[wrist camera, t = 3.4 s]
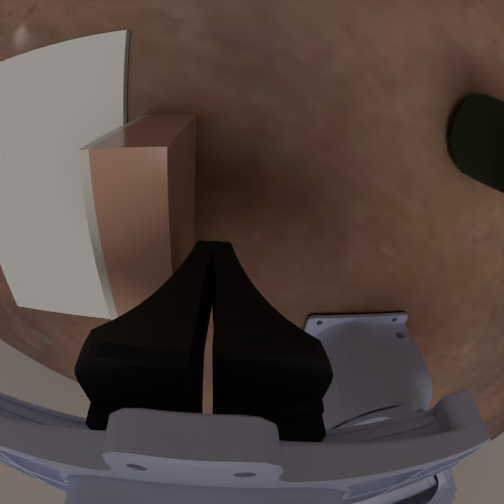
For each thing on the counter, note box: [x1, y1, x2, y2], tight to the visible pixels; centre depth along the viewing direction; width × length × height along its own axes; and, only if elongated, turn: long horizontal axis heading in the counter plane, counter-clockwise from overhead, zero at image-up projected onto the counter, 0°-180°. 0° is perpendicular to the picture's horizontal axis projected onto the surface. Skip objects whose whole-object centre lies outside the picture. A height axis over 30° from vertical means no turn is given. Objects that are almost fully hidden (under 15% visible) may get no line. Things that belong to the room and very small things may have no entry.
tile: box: [78, 114, 197, 321], centre depth 14 cm, size 3×10×8 cm, turn 175°
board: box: [0, 30, 130, 319], centre depth 16 cm, size 13×20×1 cm, turn 175°
